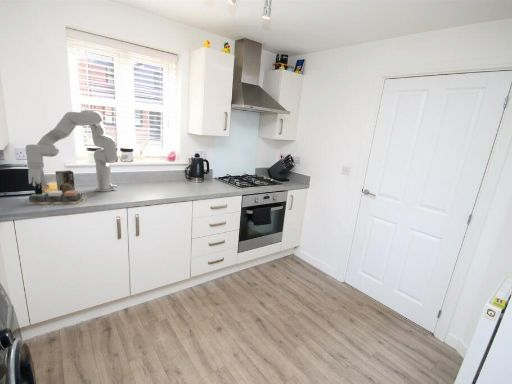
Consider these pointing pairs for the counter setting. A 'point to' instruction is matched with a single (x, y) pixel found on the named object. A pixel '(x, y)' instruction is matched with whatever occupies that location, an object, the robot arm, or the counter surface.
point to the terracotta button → (71, 193)
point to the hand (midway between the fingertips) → (38, 193)
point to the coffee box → (65, 181)
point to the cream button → (55, 193)
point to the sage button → (39, 194)
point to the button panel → (55, 199)
